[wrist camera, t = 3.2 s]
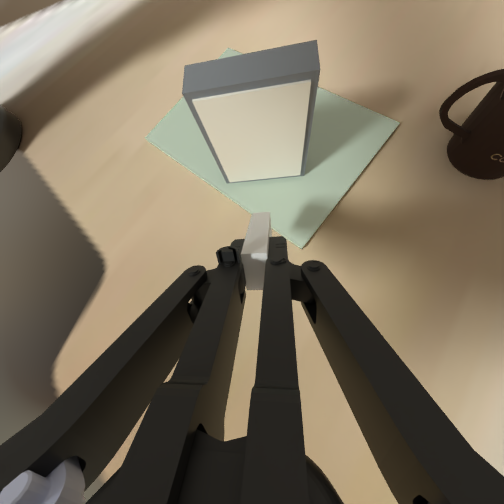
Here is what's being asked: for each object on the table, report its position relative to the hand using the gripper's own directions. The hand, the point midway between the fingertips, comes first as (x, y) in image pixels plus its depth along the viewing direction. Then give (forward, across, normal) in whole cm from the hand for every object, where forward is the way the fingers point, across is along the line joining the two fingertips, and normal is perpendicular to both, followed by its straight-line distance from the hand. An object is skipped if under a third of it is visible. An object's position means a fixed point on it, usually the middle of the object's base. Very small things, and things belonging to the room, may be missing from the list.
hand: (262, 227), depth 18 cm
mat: (+14, -1, +7) cm, 15 cm away
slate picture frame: (+9, 0, +3) cm, 10 cm away
